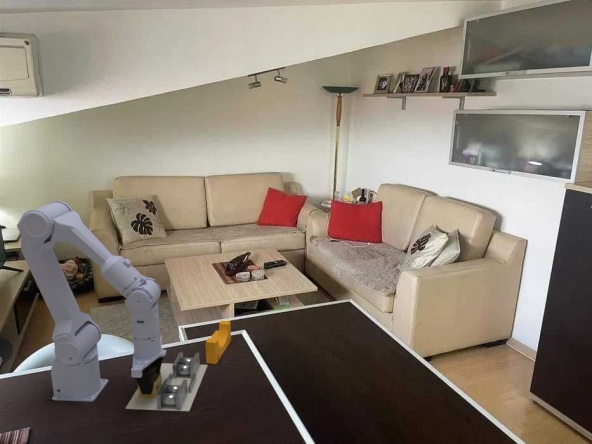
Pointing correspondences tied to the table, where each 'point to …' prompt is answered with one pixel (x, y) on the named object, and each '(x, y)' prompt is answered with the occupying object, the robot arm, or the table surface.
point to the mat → (165, 371)
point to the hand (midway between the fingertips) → (150, 387)
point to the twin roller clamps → (178, 392)
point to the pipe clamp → (218, 342)
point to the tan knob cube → (156, 386)
